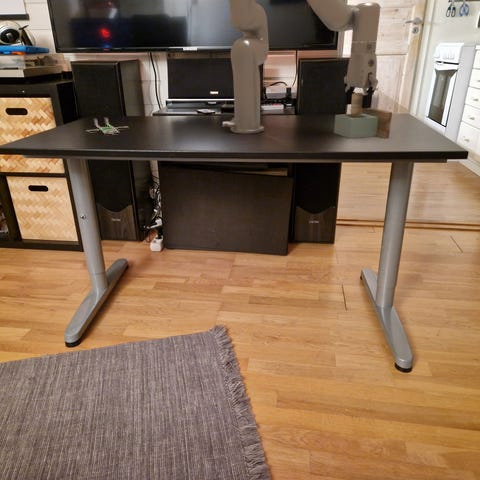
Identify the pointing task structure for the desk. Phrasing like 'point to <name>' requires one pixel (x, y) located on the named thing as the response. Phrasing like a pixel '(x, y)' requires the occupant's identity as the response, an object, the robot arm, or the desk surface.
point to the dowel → (356, 105)
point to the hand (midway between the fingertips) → (357, 106)
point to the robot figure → (106, 128)
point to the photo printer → (373, 99)
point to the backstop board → (380, 121)
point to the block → (355, 126)
